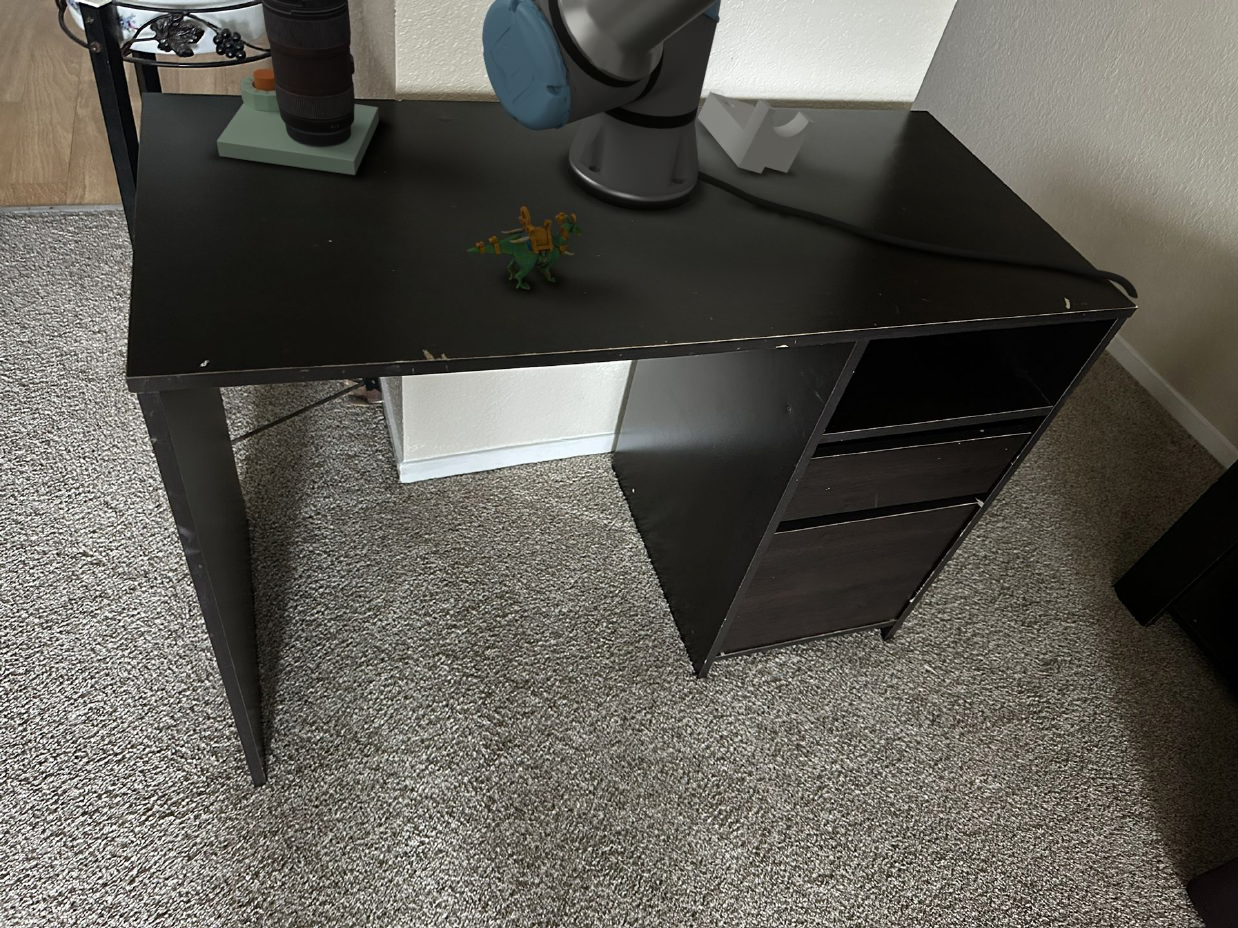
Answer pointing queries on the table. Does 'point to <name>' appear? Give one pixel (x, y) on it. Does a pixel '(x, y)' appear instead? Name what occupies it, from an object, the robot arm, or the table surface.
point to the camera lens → (312, 68)
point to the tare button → (264, 79)
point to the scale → (267, 140)
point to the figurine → (532, 245)
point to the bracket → (754, 133)
